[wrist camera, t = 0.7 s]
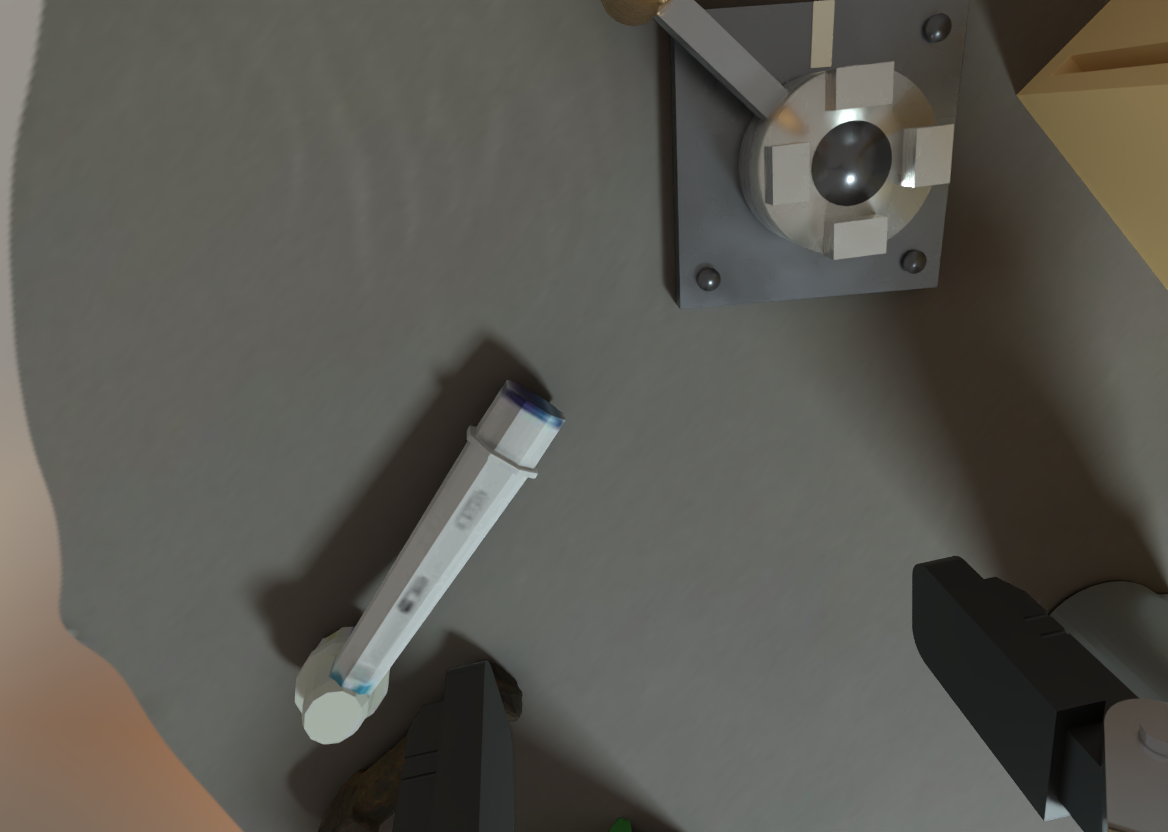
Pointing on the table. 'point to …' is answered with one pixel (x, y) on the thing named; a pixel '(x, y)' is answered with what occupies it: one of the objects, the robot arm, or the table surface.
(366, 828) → the hand tool
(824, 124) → the crank handle
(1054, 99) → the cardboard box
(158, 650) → the table surface
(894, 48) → the hub plate
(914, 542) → the table surface
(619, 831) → the hardback book
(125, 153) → the table surface
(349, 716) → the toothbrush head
